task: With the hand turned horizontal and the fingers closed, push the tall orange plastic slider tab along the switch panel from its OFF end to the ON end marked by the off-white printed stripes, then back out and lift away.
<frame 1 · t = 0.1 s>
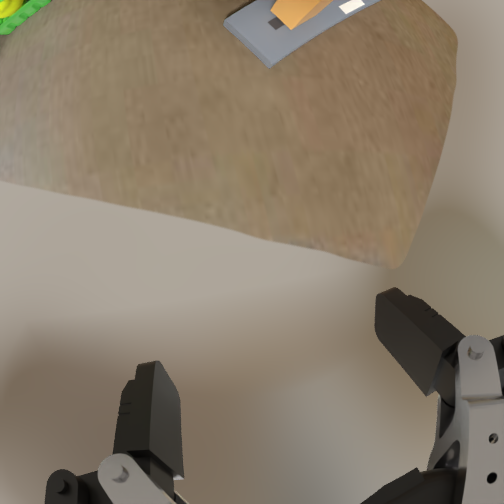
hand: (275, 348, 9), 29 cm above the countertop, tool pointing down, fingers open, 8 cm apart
fruit basket: (28, 11, 18), on the countertop
switch panel: (311, 5, 28), on the countertop
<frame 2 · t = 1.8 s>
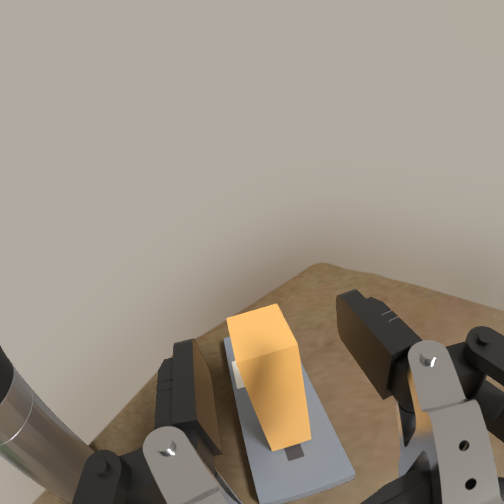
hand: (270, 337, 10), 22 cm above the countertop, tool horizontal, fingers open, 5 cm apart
slider tab: (274, 389, 22), point 9 cm above the countertop, slide at 0.0 cm
switch panel: (276, 404, 30), on the countertop
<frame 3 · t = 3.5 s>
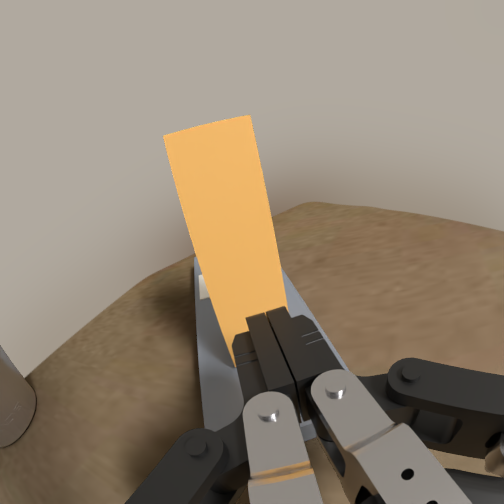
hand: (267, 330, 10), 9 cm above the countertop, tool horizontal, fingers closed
slider tab: (233, 246, 17), point 9 cm above the countertop, slide at 0.0 cm
switch panel: (250, 320, 25), on the countertop
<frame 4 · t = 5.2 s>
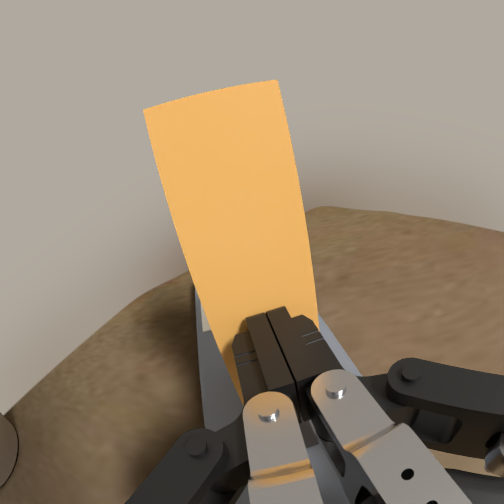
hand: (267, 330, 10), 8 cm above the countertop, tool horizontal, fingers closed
slider tab: (248, 270, 12), point 9 cm above the countertop, slide at 1.0 cm, touching gripper
switch panel: (266, 358, 19), on the countertop
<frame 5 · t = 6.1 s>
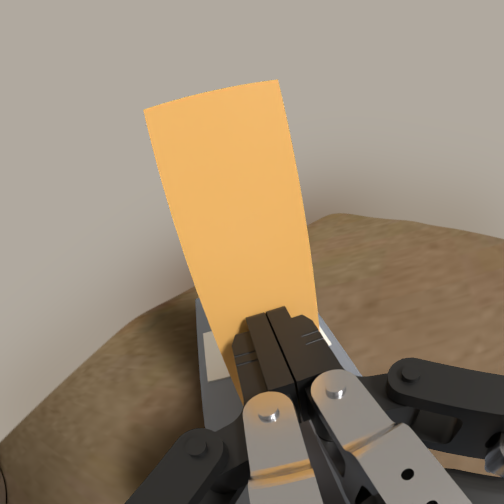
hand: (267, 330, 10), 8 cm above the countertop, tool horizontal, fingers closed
slider tab: (248, 270, 12), point 9 cm above the countertop, slide at 6.2 cm, touching gripper
switch panel: (286, 413, 15), on the countertop
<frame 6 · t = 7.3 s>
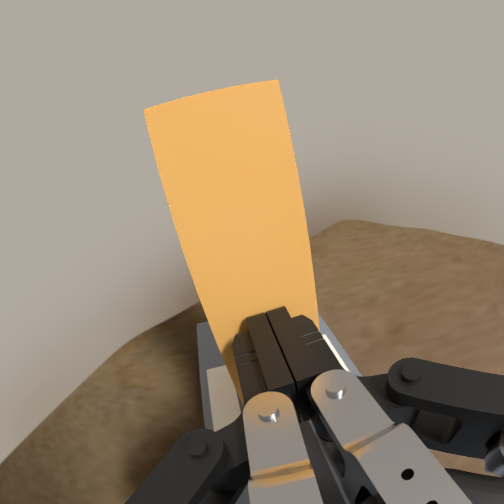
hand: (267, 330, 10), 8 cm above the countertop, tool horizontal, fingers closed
slider tab: (248, 270, 12), point 9 cm above the countertop, slide at 10.1 cm, touching gripper
switch panel: (306, 465, 11), on the countertop
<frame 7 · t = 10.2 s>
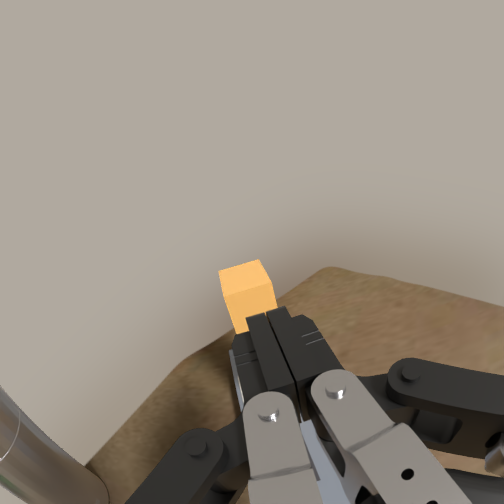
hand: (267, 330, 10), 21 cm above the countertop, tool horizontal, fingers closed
slider tab: (260, 335, 27), point 9 cm above the countertop, slide at 10.0 cm
switch panel: (288, 422, 26), on the countertop
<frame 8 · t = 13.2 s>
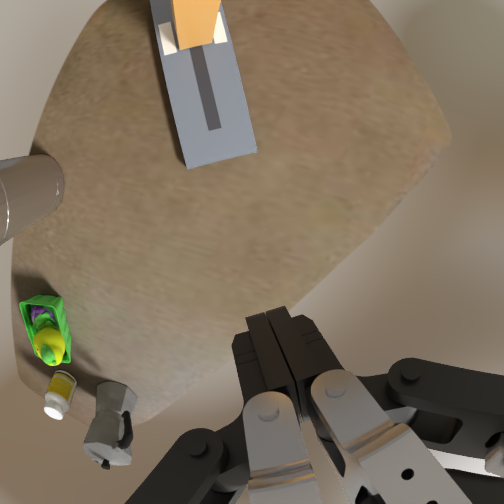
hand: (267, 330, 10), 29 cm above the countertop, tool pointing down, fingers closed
coffeepot: (119, 392, 47), on the countertop
slider tab: (192, 7, 19), point 9 cm above the countertop, slide at 10.0 cm
supplement bottle: (65, 377, 43), on the countertop
fruit basket: (57, 317, 39), on the countertop
switch panel: (199, 68, 30), on the countertop
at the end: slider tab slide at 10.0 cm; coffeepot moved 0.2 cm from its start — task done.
